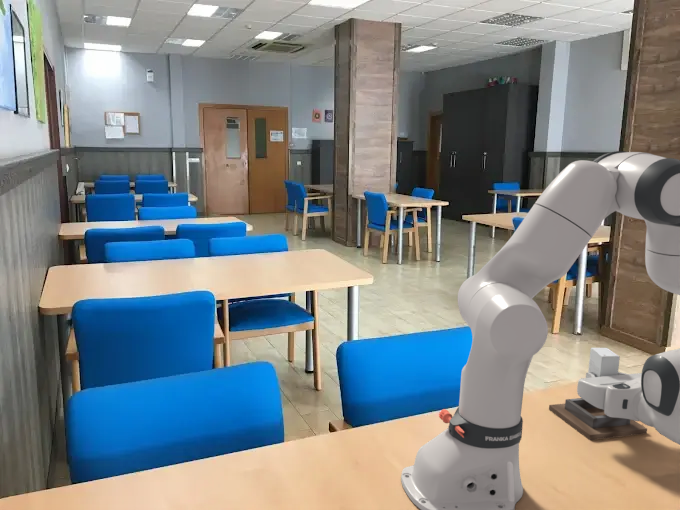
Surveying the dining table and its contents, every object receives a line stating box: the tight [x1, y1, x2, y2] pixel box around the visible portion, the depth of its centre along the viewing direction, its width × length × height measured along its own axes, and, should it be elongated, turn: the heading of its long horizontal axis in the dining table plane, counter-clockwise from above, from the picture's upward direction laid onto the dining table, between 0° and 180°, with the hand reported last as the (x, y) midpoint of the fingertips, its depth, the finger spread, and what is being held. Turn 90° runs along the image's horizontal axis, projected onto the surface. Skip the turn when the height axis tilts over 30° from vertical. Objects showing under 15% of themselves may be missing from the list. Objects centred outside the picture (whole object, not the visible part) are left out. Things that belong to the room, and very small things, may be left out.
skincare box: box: [587, 347, 621, 377], centre depth 131 cm, size 6×4×12 cm
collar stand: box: [548, 397, 648, 441], centre depth 133 cm, size 15×15×4 cm
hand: (599, 374), depth 132 cm, fingers closed on skincare box, 5 cm apart
